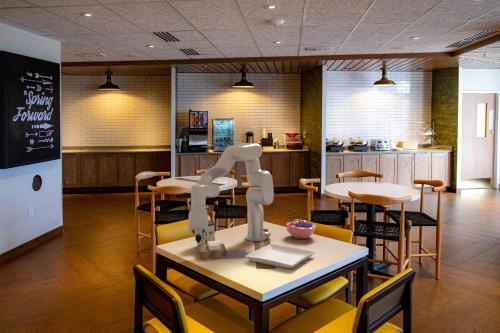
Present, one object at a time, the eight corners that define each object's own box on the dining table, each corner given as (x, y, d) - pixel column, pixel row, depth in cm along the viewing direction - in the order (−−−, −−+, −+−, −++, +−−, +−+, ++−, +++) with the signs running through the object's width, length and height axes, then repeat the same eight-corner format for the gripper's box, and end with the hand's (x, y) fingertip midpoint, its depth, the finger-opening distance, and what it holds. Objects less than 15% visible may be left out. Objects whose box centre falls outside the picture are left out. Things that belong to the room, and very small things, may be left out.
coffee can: (202, 243, 252) (202, 219, 251) (218, 245, 248) (218, 221, 247) (193, 247, 243) (193, 223, 242) (209, 249, 239) (209, 225, 237)
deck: (223, 250, 237) (223, 243, 237) (226, 258, 224) (226, 250, 223) (198, 251, 235) (198, 244, 234) (199, 259, 221) (199, 252, 221)
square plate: (292, 272, 203) (292, 264, 203) (244, 262, 218) (244, 255, 217) (315, 257, 226) (315, 250, 226) (270, 249, 241) (270, 242, 240)
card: (218, 245, 234) (218, 240, 234) (220, 249, 225) (220, 245, 225) (207, 245, 233) (207, 241, 233) (209, 250, 224) (209, 245, 224)
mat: (244, 249, 240) (244, 248, 240) (249, 257, 225) (249, 256, 225) (225, 250, 238) (225, 249, 238) (228, 258, 223) (228, 258, 223)
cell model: (301, 232, 278) (301, 215, 276) (321, 239, 261) (322, 221, 259) (280, 235, 269) (280, 218, 268) (299, 243, 252) (299, 224, 251)
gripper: (211, 206, 230) (211, 239, 232) (183, 206, 228) (183, 240, 229) (213, 209, 223) (213, 243, 225) (184, 209, 220) (184, 244, 222)
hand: (198, 242), depth 227 cm, fingers closed
